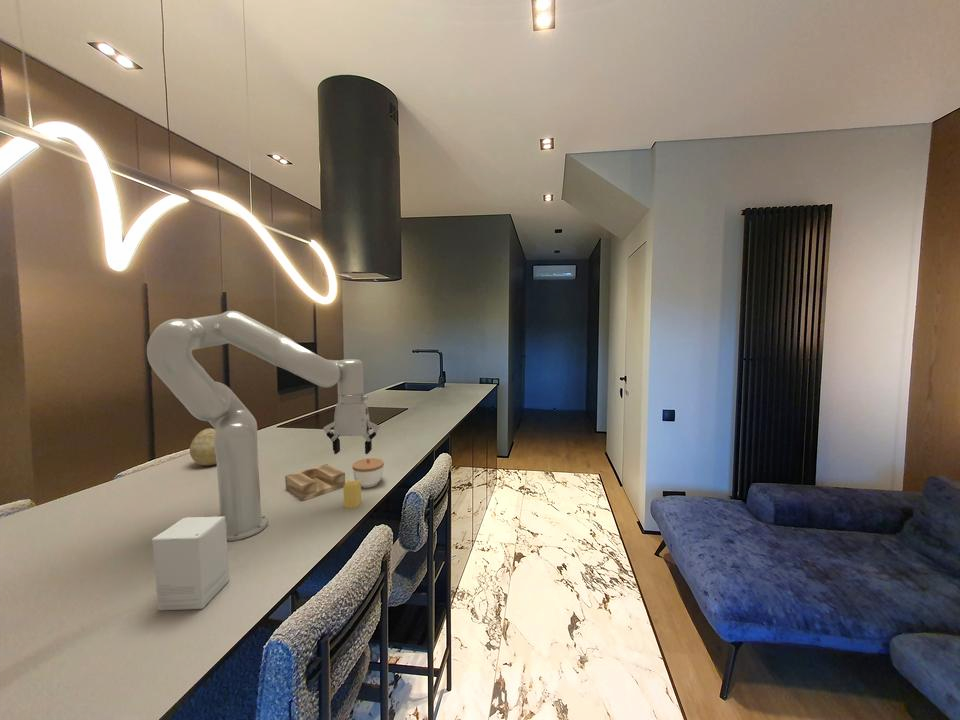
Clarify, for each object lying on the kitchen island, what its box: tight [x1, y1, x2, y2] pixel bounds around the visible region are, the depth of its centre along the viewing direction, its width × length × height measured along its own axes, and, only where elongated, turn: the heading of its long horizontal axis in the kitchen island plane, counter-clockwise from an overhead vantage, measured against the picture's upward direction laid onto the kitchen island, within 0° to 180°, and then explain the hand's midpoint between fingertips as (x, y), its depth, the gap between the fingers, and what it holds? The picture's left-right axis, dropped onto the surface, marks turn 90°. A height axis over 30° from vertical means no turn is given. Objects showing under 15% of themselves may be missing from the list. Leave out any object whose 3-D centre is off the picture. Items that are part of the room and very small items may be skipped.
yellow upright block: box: [343, 480, 362, 509], centre depth 119 cm, size 4×4×7 cm
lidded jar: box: [351, 457, 385, 489], centre depth 134 cm, size 11×11×9 cm
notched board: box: [284, 463, 346, 502], centre depth 131 cm, size 15×13×5 cm
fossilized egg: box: [189, 428, 217, 467], centre depth 153 cm, size 13×13×15 cm
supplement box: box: [151, 516, 230, 611], centre depth 78 cm, size 9×9×15 cm
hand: (352, 452), depth 118 cm, fingers open, 9 cm apart
